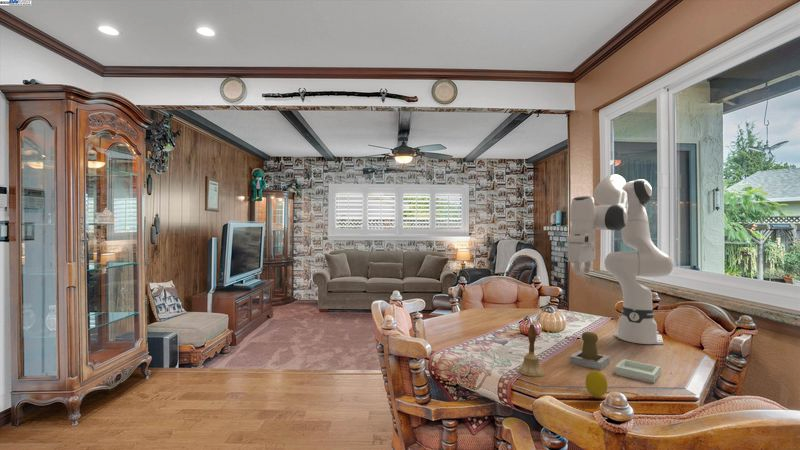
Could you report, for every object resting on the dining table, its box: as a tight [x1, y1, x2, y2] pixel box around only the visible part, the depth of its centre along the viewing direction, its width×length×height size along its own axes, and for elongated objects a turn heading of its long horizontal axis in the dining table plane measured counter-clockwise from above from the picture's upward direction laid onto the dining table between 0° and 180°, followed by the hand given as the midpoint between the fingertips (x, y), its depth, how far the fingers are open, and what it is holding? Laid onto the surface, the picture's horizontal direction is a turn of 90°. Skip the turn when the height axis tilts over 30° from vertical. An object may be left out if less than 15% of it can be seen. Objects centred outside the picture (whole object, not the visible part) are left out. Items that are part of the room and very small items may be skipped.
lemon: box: [585, 369, 608, 399], centre depth 108 cm, size 6×6×8 cm
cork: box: [581, 331, 599, 361], centre depth 138 cm, size 6×6×11 cm
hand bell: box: [517, 323, 545, 378], centre depth 128 cm, size 8×8×16 cm
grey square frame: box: [569, 349, 611, 371], centre depth 138 cm, size 10×10×2 cm
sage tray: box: [614, 358, 662, 384], centre depth 127 cm, size 11×11×2 cm
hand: (582, 273), depth 148 cm, fingers open, 8 cm apart
